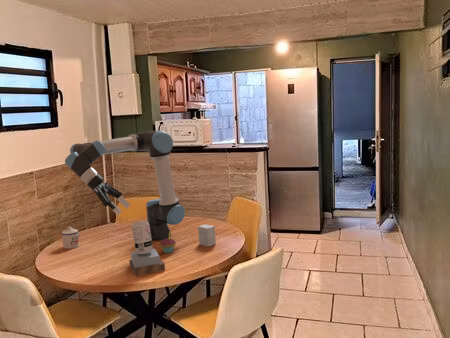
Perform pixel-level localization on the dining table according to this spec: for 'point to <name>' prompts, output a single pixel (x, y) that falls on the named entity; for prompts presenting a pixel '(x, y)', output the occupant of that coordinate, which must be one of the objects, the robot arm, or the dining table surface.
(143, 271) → the tower base slab
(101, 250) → the dining table surface
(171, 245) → the cupcake
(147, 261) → the tower top slab
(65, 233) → the teacup with lid
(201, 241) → the small box
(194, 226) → the dining table surface
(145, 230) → the supplement can
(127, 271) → the dining table surface
